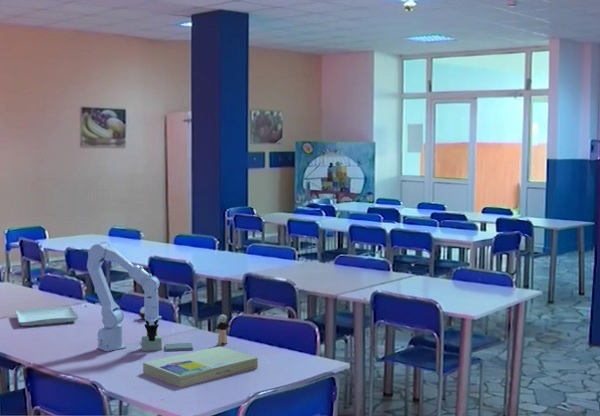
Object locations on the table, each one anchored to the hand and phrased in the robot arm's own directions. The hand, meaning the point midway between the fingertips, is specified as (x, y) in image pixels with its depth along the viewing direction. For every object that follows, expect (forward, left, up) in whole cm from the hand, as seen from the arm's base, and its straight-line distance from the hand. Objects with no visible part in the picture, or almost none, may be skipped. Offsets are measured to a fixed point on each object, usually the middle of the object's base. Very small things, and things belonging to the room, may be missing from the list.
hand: (151, 338), depth 308 cm
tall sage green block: (0, 0, -4) cm, 4 cm away
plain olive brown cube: (+6, +10, -4) cm, 13 cm away
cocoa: (+28, +50, -4) cm, 58 cm away
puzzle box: (-3, -39, -5) cm, 39 cm away
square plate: (-9, +81, -5) cm, 82 cm away
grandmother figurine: (+27, -13, -4) cm, 30 cm away
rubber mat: (+9, -6, -4) cm, 12 cm away
